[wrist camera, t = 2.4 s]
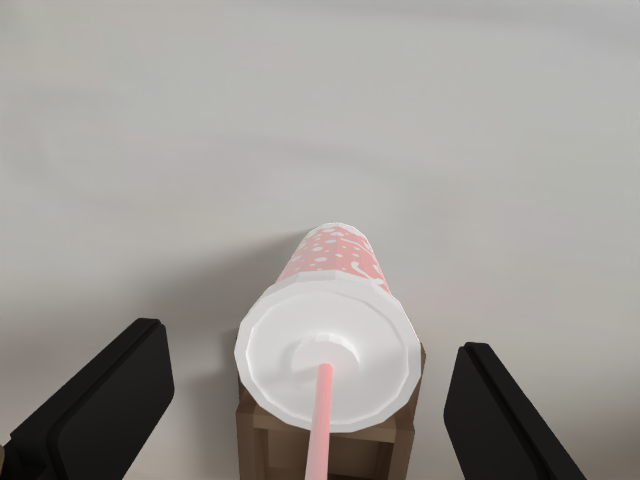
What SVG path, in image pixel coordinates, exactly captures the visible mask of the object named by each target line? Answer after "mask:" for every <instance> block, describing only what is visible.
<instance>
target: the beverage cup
mask: <svg viewBox="0 0 640 480" xmlns="http://www.w3.org/2000/svg"><path fill="white" fill-rule="evenodd" d="M234 355H235V359H236V363H237V367H238V371H239V375H240V379H241V382H242V383H243V385H244V386H245V387H246V389H247V390H248V391H249V393H250V394H251V395H252V396H253V398H254V399H255V400H256V402H257V403H258V404H259V406H261V407H262V408H264V409H265V410H267V411H268V412H270V413H271V414H273V415H274V416H276V417H277V418H279V419H280V420H282V421H284V422H285V423H287V424H290V425H293V426H297V427H300V428H304V429H307V430H311V433H310V441H309V450H308V458H307V466H306V475H305V480H327V469H328V451H329V433H336V432H354V431H358V430H361V429H364V428H367V427H370V426H373V425H376V424H379V423H382V422H384V421H385V420H386V419H388V418H389V417H390V416H391V415H393V414H394V413H395V412H396V411H398V410H399V409H400V408H401V407H403V406H404V405H405V404H406V403H407V402H408V400H409V398H410V396H411V395H412V393H413V391H414V389H415V387H416V385H417V383H418V381H419V379H420V377H421V344H420V342H419V339H418V337H417V335H416V333H415V331H414V328H413V326H412V325H411V323H410V321H409V319H408V317H407V315H406V313H405V311H404V310H403V308H402V306H401V304H400V302H399V301H398V300H397V299H395V298H394V297H393V296H392V295H391V292H390V290H389V288H388V285H387V283H386V280H385V278H384V276H383V273H382V271H381V269H380V266H379V264H378V262H377V259H376V257H375V254H374V252H373V250H372V248H371V246H370V244H369V242H368V240H367V238H366V236H364V235H363V234H362V233H361V232H359V231H358V230H357V229H356V228H354V227H352V226H349V225H346V224H342V223H328V224H323V225H321V226H319V227H317V228H315V229H313V230H311V231H310V232H309V233H308V234H307V236H306V237H305V238H304V239H303V240H302V242H301V243H300V245H299V246H298V248H297V249H296V251H295V252H294V254H293V256H292V257H291V259H290V260H289V262H288V263H287V265H286V266H285V268H284V270H283V271H282V273H281V274H280V276H279V277H278V279H277V280H276V282H275V284H274V285H271V286H269V287H268V288H267V289H266V291H265V292H264V293H263V294H262V295H261V297H260V298H259V299H258V300H257V301H256V303H255V304H254V305H253V306H252V307H251V309H250V310H249V312H248V314H247V315H246V316H245V317H244V318H243V320H242V322H241V324H240V328H239V333H238V337H237V341H236V346H235V350H234Z"/></svg>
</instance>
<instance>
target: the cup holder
mask: <svg viewBox="0 0 640 480" xmlns="http://www.w3.org/2000/svg"><path fill="white" fill-rule="evenodd" d="M237 337H238V336H237ZM237 337H236V341H237ZM420 344H421V377H420V379H419V381H418V383H417V385H416V387H415V389H414V391H413V393H412V395H411V396H410V398H409V400H408V402H407V403H406V404H405V405H404V406H403V407H401V408H400V409H399V410H398V411H396V412H395V413H394V414H393V415H391V416H390V417H389V418H388V419H386V420H385V421H384V422H382V423H379V424H376V425H373V426H370V427H367V428H364V429H361V430H358V431H354V432H336V433H329V451H328V469H327V480H405V479H406V474H407V469H408V464H409V459H410V454H411V449H412V444H413V439H414V434H415V430H414V425H413V420H414V415H415V410H416V405H417V400H418V395H419V390H420V384H421V379H422V374H423V369H424V364H425V359H426V354H425V351H424V348H423V346H422V343H420ZM238 382H239V399H240V403H239V406H238V408H237V411H236V423H237V439H238V454H239V470H240V480H305V475H306V466H307V458H308V450H309V441H310V433H311V430H307V429H304V428H300V427H297V426H293V425H290V424H287V423H285V422H284V421H282V420H280V419H279V418H277V417H276V416H274V415H273V414H271V413H270V412H268V411H267V410H265V409H264V408H262V407H261V406H259V404H258V403H257V402H256V400H255V399H254V398H253V396H252V395H251V394H250V393H249V391H248V390H247V389H246V387H245V386H244V385H243V383H242V382H241V379H240V375H239V371H238Z"/></svg>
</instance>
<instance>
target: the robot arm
mask: <svg viewBox="0 0 640 480" xmlns="http://www.w3.org/2000/svg"><path fill="white" fill-rule="evenodd" d="M173 396H174V382H173V375H172V369H171V362H170V355H169V348H168V342H167V335H166V328H165V326H164V325H163V324H161V322H160V321H159V320H158V319H149V318H138V319H137V320H135V321H134V322H133V323H132V324H131V325H130V326H129V327H128V328H127V329H125V330H124V331H123V332H122V333H121V334H120V335H119V336H118V337H117V338H115V339H114V340H113V341H112V342H111V343H110V344H109V345H108V346H107V347H106V348H104V349H103V350H102V351H101V352H100V353H99V354H98V355H97V356H96V357H94V358H93V359H92V360H91V361H90V362H89V363H88V364H87V365H86V366H85V367H83V368H82V369H81V370H80V371H79V372H78V373H77V374H76V375H75V376H74V377H72V378H71V379H70V380H69V381H68V382H67V383H66V384H65V385H64V386H62V387H61V388H60V389H59V390H58V391H57V392H56V393H55V394H54V395H53V396H51V397H50V398H49V399H48V400H47V401H46V402H45V403H44V404H43V405H41V406H40V407H39V408H38V409H37V410H36V411H35V412H34V413H33V414H32V415H30V416H29V417H28V418H27V419H26V420H25V421H24V422H23V423H22V424H20V425H19V426H18V427H17V428H16V429H15V430H14V431H13V432H12V433H11V434H10V436H11V440H10V441H9V442H8V443H7V444H6V445H4V446H3V447H2V446H1V445H0V480H122V479H123V477H124V475H125V474H126V472H127V471H128V469H129V468H130V466H131V464H132V463H133V461H134V460H135V458H136V456H137V455H138V453H139V452H140V450H141V449H142V447H143V445H144V444H145V442H146V441H147V439H148V437H149V436H150V434H151V433H152V431H153V430H154V428H155V426H156V425H157V423H158V422H159V420H160V418H161V417H162V415H163V414H164V412H165V411H166V409H167V407H168V406H169V404H170V403H171V401H172V399H173ZM444 423H445V426H446V429H447V431H448V434H449V437H450V439H451V442H452V445H453V448H454V450H455V453H456V456H457V458H458V461H459V464H460V467H461V469H462V472H463V475H464V477H465V480H587V479H586V478H585V476H584V475H583V474H582V472H581V471H580V469H579V468H578V467H577V465H576V464H575V462H574V461H573V460H572V458H571V457H570V456H569V454H568V453H567V451H566V450H565V449H564V447H563V446H562V445H561V443H560V442H559V440H558V439H557V438H556V436H555V435H554V433H553V432H552V431H551V429H550V428H549V427H548V425H547V424H546V422H545V421H544V420H543V418H542V417H541V416H540V414H539V413H538V411H537V410H536V409H535V407H534V406H533V404H532V403H531V402H530V400H529V399H528V398H527V397H526V396H525V394H524V393H523V391H522V390H521V389H520V387H519V386H518V384H517V383H516V382H515V380H514V379H513V378H512V376H511V375H510V373H509V372H508V371H507V369H506V368H505V366H504V365H503V364H502V362H501V361H500V360H499V358H498V357H497V355H496V354H495V353H494V351H493V350H492V348H491V347H490V346H489V345H488V344H486V343H475V342H466V343H465V345H464V347H463V346H461V347H460V348H459V350H458V354H457V358H456V362H455V366H454V370H453V374H452V379H451V383H450V387H449V391H448V395H447V400H446V404H445V408H444Z"/></svg>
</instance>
